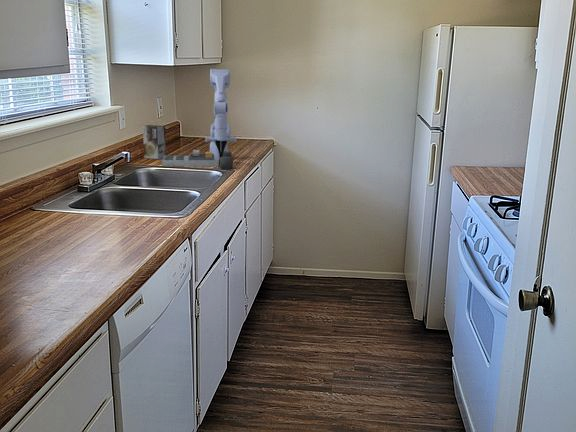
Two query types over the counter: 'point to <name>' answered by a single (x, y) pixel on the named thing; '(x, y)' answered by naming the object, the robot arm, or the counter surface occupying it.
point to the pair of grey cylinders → (226, 161)
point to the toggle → (208, 154)
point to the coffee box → (154, 141)
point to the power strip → (191, 160)
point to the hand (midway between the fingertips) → (220, 157)
